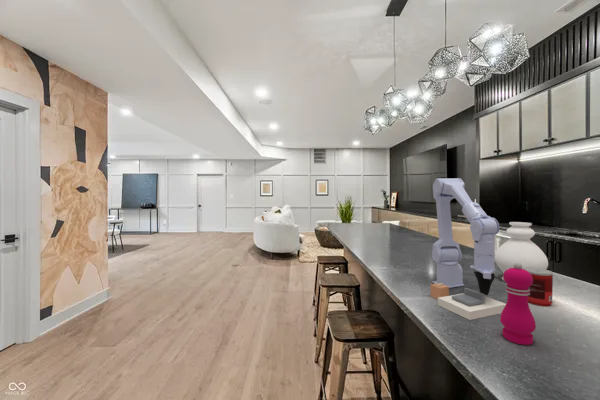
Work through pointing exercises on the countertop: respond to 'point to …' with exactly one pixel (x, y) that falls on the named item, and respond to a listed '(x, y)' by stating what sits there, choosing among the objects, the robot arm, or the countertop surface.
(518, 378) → the countertop surface
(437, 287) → the plug
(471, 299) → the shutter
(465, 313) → the socket board
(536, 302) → the canned food
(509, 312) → the pepper mill
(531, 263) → the decorative vase
